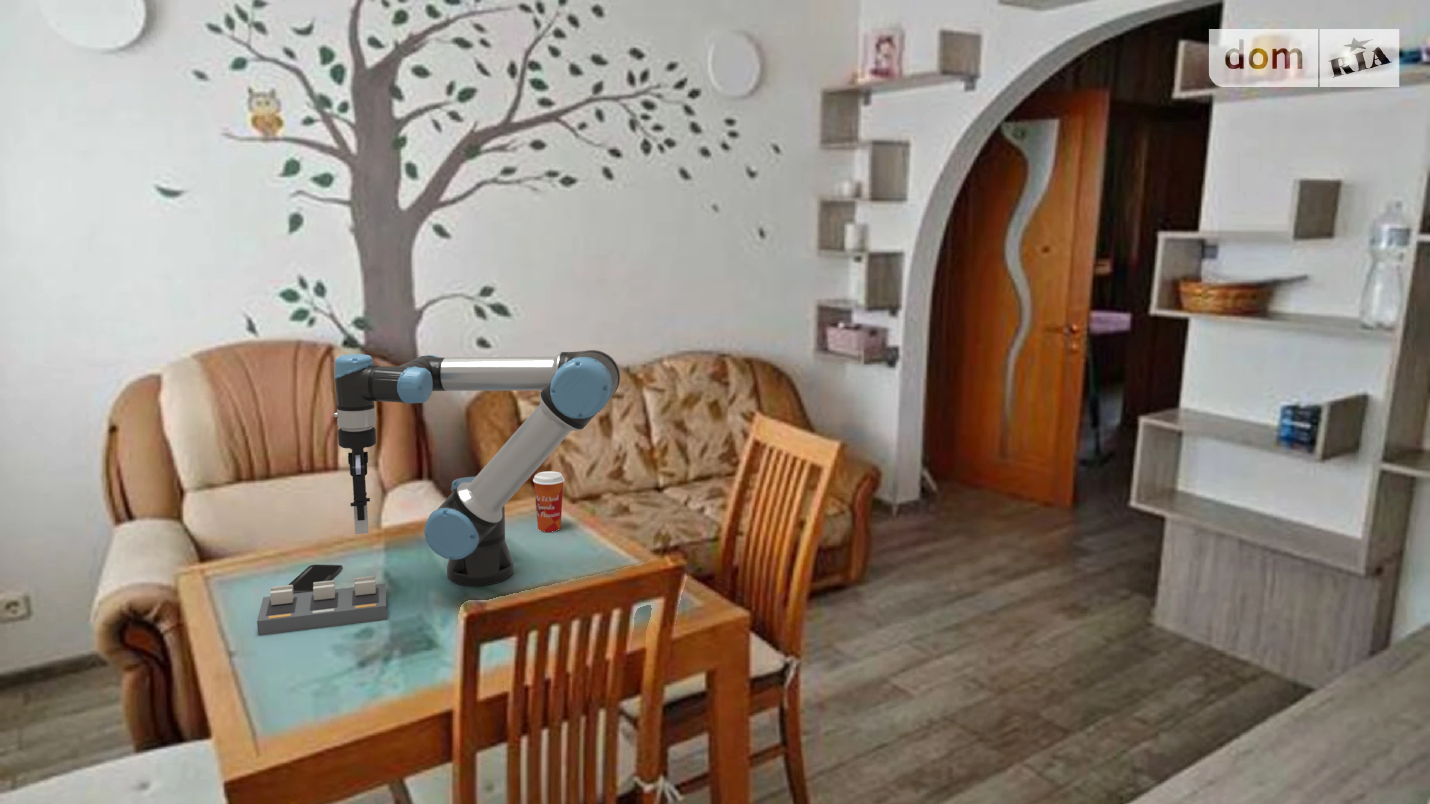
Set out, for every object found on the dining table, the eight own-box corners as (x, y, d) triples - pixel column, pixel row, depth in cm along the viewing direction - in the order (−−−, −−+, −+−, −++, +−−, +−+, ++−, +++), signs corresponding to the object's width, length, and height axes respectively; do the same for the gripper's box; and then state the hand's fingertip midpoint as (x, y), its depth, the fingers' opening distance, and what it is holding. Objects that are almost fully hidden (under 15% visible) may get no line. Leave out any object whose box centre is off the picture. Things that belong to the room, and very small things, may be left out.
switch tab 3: (375, 587, 195) (374, 573, 194) (375, 593, 192) (374, 579, 192) (355, 590, 194) (354, 575, 193) (355, 595, 191) (354, 581, 190)
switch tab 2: (335, 592, 192) (334, 578, 192) (334, 597, 190) (333, 583, 189) (314, 594, 191) (313, 580, 190) (313, 600, 188) (312, 585, 187)
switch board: (385, 596, 199) (385, 583, 198) (387, 619, 188) (386, 605, 187) (264, 610, 190) (263, 596, 190) (258, 635, 179) (256, 620, 179)
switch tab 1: (293, 596, 189) (292, 582, 189) (292, 602, 187) (291, 588, 186) (272, 599, 188) (271, 584, 187) (271, 605, 185) (270, 590, 185)
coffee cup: (529, 532, 240) (528, 478, 237) (540, 522, 248) (539, 469, 245) (559, 535, 239) (558, 480, 236) (569, 524, 247) (569, 471, 244)
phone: (281, 590, 199) (311, 564, 213) (282, 595, 199) (311, 568, 214) (318, 591, 199) (344, 565, 214) (318, 596, 199) (344, 569, 214)
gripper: (338, 421, 198) (343, 524, 202) (336, 435, 186) (342, 544, 190) (375, 419, 200) (379, 521, 205) (375, 433, 188) (380, 541, 193)
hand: (361, 532), depth 198 cm, fingers closed
